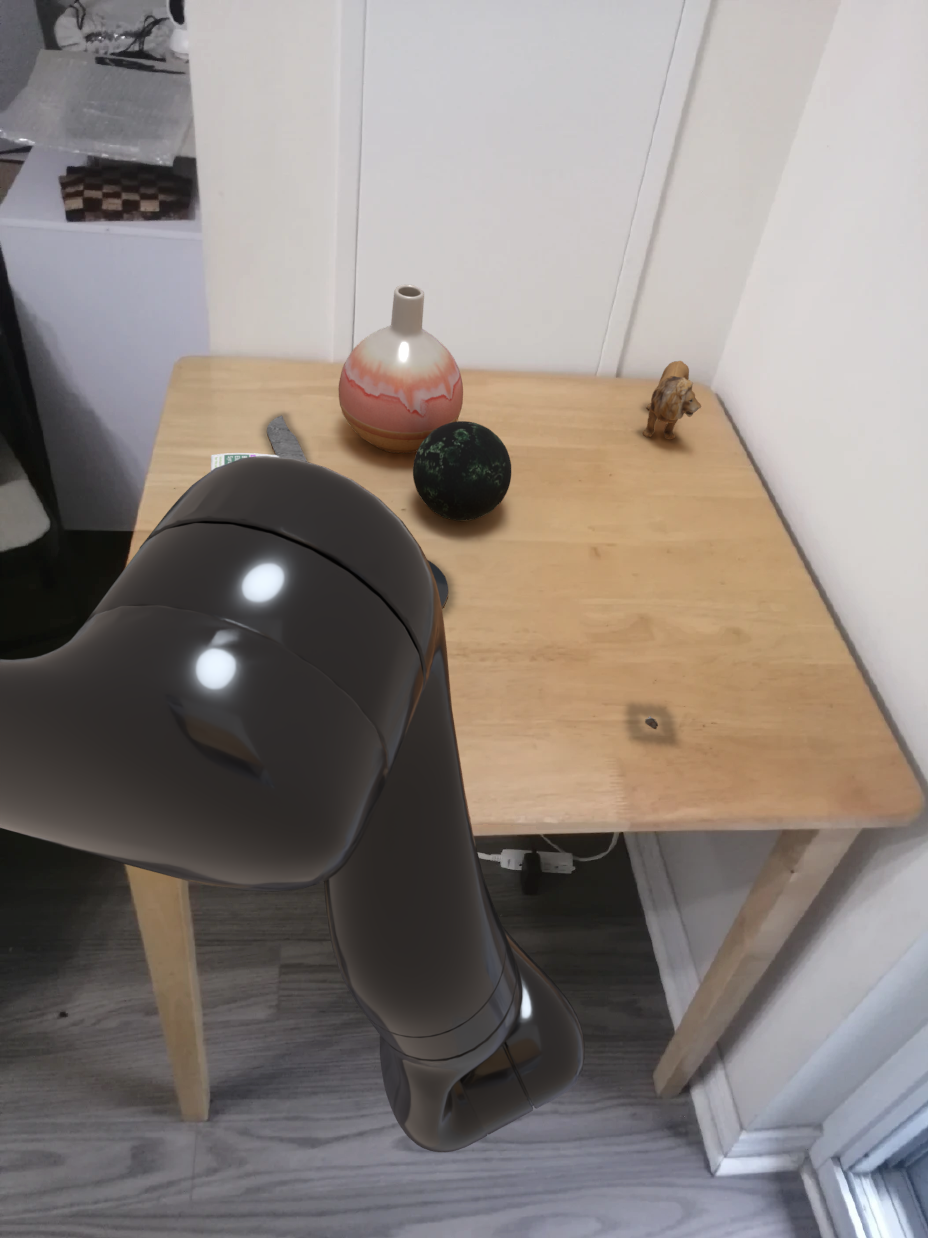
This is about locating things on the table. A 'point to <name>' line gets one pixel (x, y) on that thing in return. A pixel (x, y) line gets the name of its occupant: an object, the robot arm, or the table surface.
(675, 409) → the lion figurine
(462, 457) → the decorative stone
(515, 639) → the table surface
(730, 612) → the table surface
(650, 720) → the dark square tile
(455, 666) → the table surface
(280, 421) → the knife
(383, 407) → the vase
